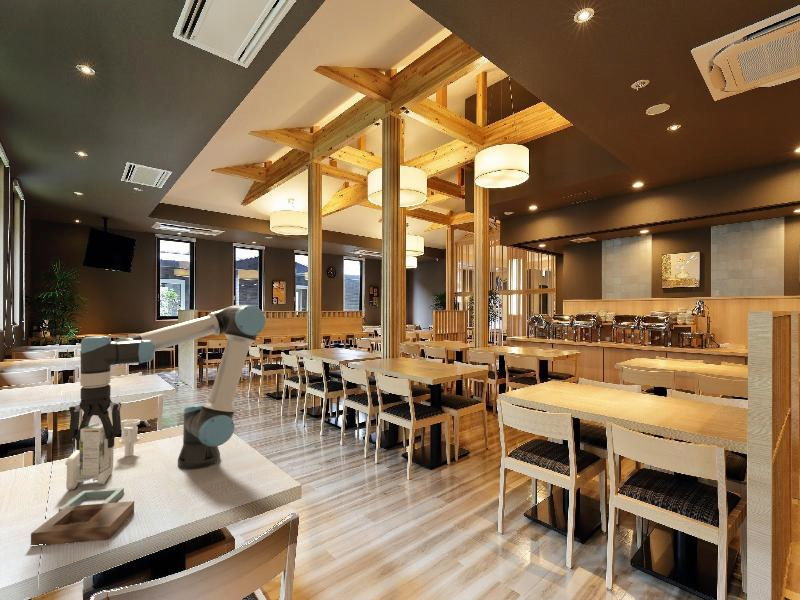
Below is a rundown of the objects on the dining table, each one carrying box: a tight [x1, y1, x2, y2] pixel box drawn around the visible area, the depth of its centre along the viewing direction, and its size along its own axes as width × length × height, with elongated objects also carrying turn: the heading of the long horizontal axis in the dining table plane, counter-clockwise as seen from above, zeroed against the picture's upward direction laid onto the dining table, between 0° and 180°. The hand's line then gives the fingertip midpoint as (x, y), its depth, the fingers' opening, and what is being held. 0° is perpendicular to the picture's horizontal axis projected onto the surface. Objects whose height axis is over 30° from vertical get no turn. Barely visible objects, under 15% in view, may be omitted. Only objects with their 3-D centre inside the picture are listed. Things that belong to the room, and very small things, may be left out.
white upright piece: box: [118, 419, 141, 457], centre depth 165 cm, size 7×7×15 cm
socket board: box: [30, 500, 135, 546], centre depth 110 cm, size 18×14×4 cm
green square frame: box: [58, 487, 125, 512], centre depth 124 cm, size 12×12×2 cm
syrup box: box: [80, 422, 110, 475], centre depth 124 cm, size 6×6×14 cm
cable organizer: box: [65, 445, 115, 491], centre depth 140 cm, size 15×11×12 cm
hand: (95, 458), depth 124 cm, fingers closed on syrup box, 6 cm apart
